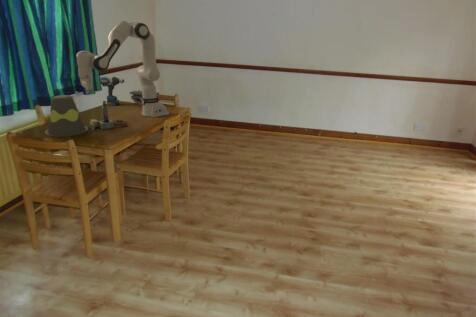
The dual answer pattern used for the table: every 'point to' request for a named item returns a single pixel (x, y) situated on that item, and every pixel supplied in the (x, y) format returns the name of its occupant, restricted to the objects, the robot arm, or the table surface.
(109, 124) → the socket block
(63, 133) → the banded grey frustum
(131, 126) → the table surface
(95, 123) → the drift key
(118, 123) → the rack
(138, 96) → the dark grey irregular piece
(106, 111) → the drill bit
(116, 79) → the impact wrench
